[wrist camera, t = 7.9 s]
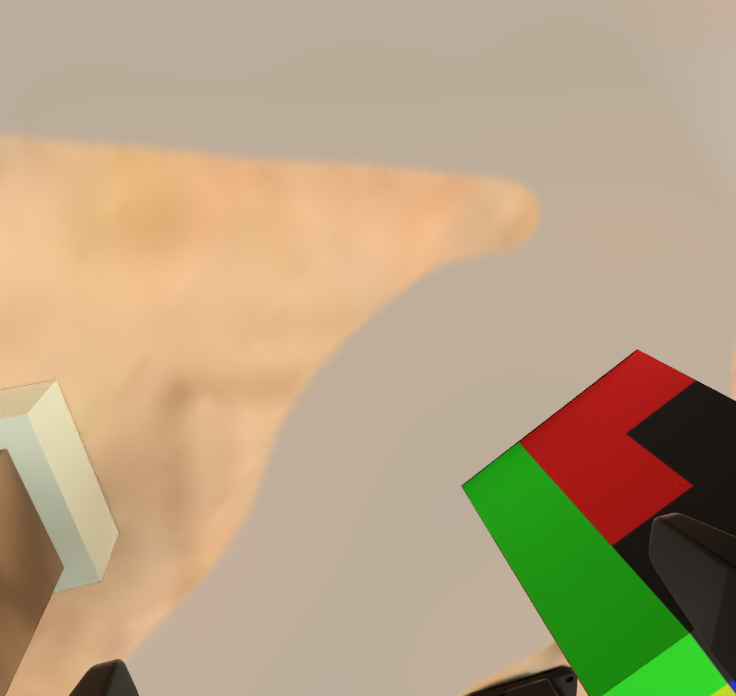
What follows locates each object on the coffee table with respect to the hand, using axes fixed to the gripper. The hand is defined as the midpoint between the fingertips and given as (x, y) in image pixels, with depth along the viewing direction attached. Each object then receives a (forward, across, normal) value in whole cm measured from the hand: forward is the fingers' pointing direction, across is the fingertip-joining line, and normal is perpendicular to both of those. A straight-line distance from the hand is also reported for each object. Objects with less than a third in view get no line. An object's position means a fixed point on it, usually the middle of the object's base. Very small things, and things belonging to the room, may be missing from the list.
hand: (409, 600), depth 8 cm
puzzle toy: (+12, -12, +10) cm, 20 cm away
